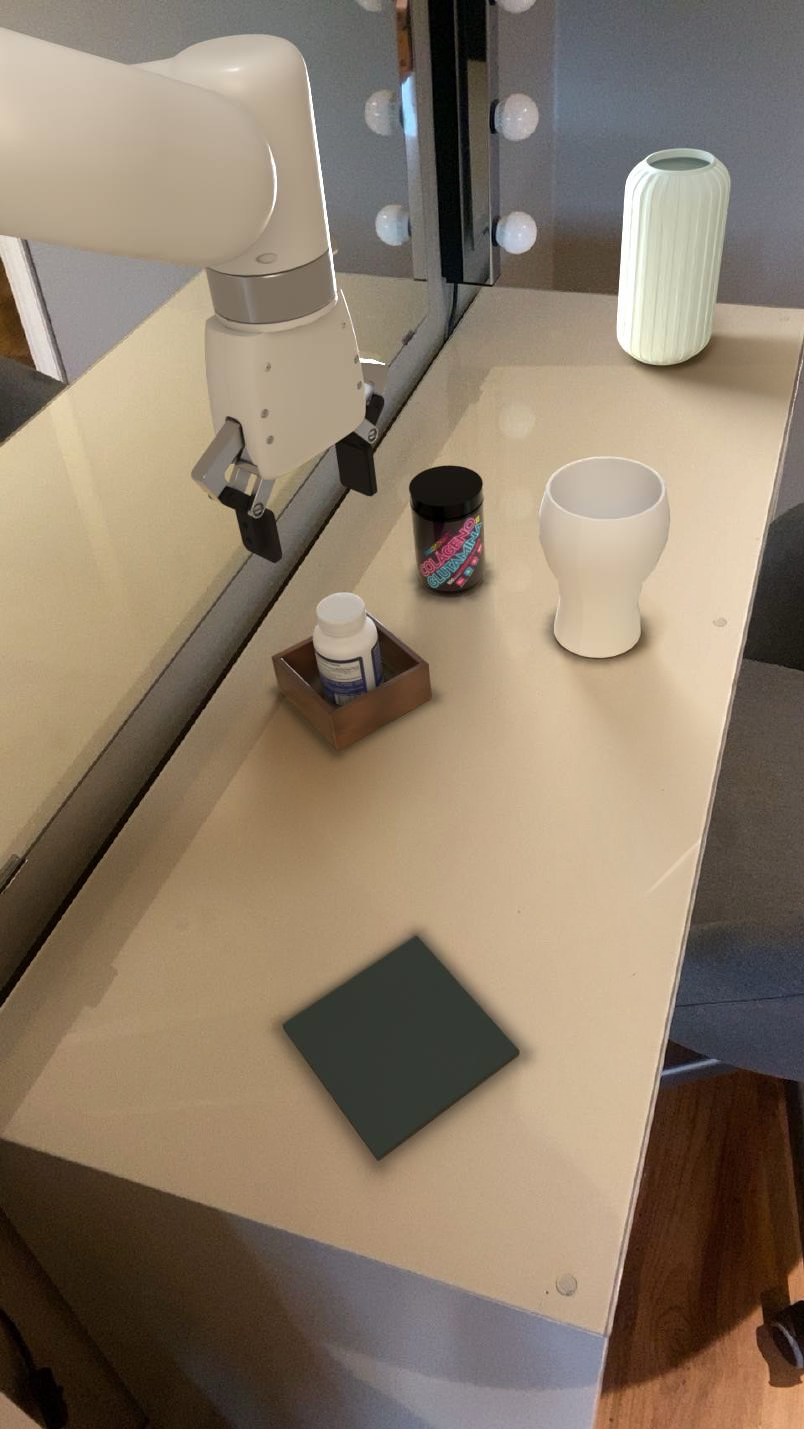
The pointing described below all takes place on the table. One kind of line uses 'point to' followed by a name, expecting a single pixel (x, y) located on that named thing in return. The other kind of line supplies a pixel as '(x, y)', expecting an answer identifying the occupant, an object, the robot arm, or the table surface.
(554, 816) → the table surface
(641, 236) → the vase
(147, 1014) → the table surface
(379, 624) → the crate
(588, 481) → the cup
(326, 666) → the pill bottle
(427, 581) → the supplement container
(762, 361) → the table surface
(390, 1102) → the pad
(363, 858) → the table surface
